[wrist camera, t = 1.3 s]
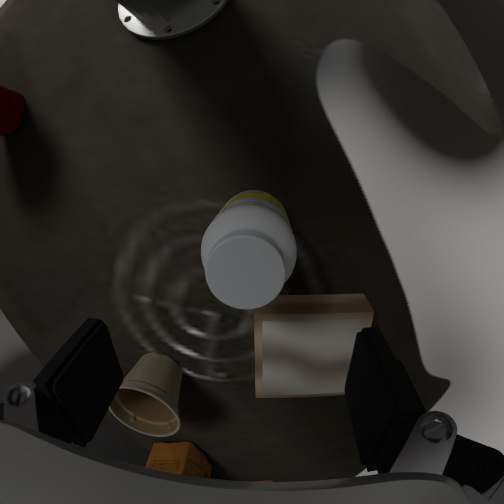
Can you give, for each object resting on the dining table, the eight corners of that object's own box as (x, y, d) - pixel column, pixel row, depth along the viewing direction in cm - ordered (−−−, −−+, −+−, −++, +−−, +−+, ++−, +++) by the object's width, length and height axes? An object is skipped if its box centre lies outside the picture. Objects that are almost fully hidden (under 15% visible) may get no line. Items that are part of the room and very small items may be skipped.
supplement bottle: (257, 266, 30) (249, 342, 18) (207, 224, 29) (166, 277, 17) (302, 219, 28) (326, 272, 16) (251, 174, 27) (238, 193, 15)
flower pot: (206, 365, 35) (192, 414, 27) (179, 400, 38) (165, 445, 30) (141, 329, 34) (113, 373, 26) (123, 370, 37) (100, 411, 29)
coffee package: (174, 467, 47) (152, 551, 26) (148, 436, 43) (113, 532, 22) (219, 469, 46) (204, 560, 25) (197, 438, 42) (171, 547, 21)
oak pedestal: (255, 294, 31) (254, 316, 27) (363, 293, 31) (375, 313, 27) (257, 375, 35) (255, 399, 31) (347, 372, 35) (354, 395, 31)
